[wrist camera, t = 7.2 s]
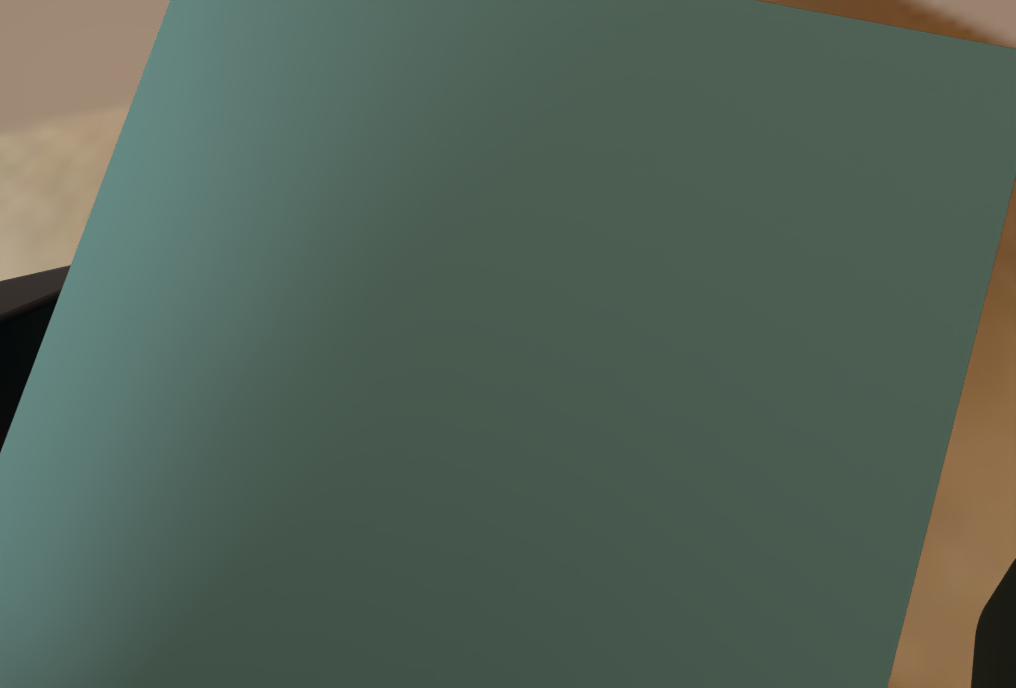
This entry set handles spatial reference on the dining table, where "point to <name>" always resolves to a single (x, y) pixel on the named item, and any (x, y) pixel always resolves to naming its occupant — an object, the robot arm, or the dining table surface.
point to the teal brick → (507, 350)
